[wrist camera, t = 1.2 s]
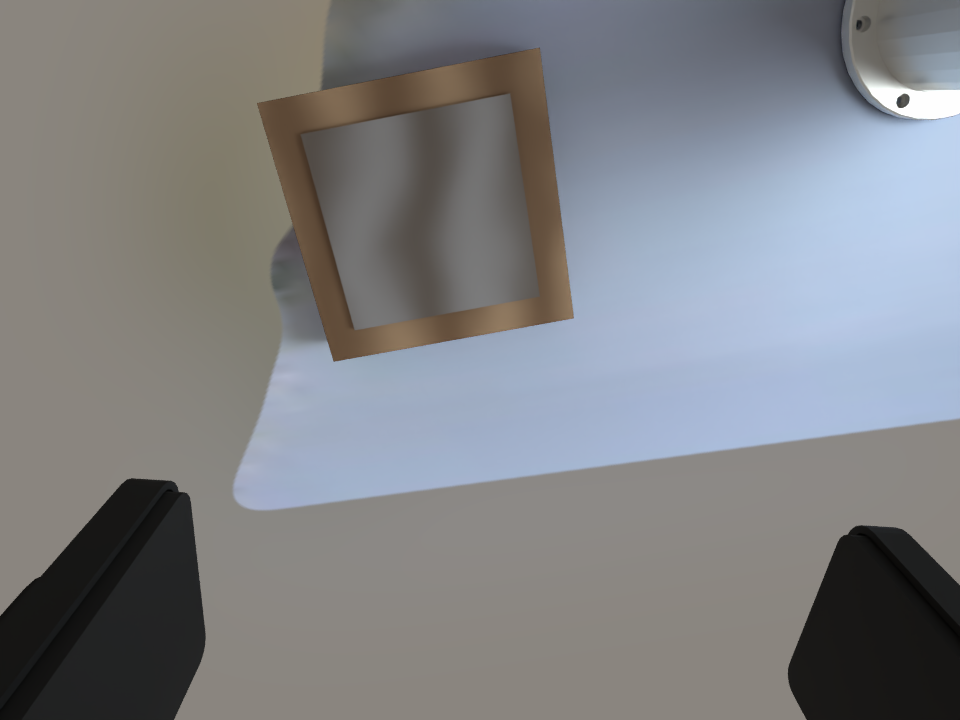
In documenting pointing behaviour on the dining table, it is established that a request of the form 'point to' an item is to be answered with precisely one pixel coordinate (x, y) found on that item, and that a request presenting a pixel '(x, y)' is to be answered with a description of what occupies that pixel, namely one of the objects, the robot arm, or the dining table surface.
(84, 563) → the robot arm
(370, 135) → the walnut base
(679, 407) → the dining table surface
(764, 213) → the dining table surface
